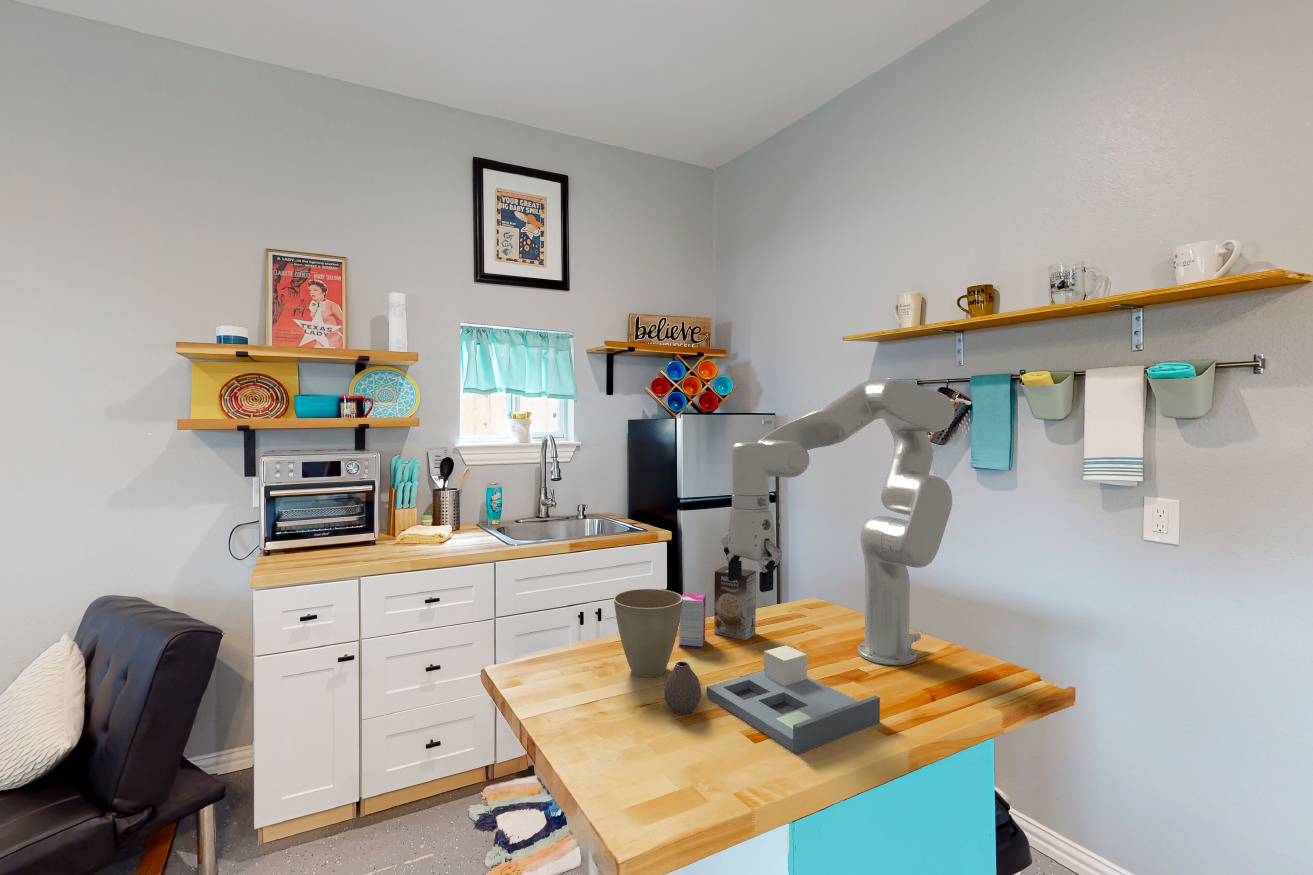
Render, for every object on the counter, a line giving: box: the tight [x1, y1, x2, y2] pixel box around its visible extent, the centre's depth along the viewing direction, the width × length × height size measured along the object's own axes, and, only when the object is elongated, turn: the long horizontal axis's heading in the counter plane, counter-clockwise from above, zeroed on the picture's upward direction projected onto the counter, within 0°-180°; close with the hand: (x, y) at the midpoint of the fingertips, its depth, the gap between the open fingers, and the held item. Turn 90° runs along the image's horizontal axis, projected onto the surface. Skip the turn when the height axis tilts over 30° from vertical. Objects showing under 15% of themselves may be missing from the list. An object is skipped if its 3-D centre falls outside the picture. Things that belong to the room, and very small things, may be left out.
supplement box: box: [678, 593, 707, 649], centre depth 152 cm, size 6×6×12 cm
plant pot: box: [613, 588, 683, 678], centre depth 137 cm, size 15×15×16 cm
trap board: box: [706, 669, 881, 755], centre depth 118 cm, size 20×25×4 cm
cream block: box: [763, 644, 808, 686], centre depth 128 cm, size 6×6×5 cm
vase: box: [663, 661, 702, 716], centre depth 118 cm, size 7×7×9 cm
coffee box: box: [713, 565, 757, 641], centre depth 159 cm, size 9×6×16 cm
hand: (750, 585), depth 130 cm, fingers open, 9 cm apart
